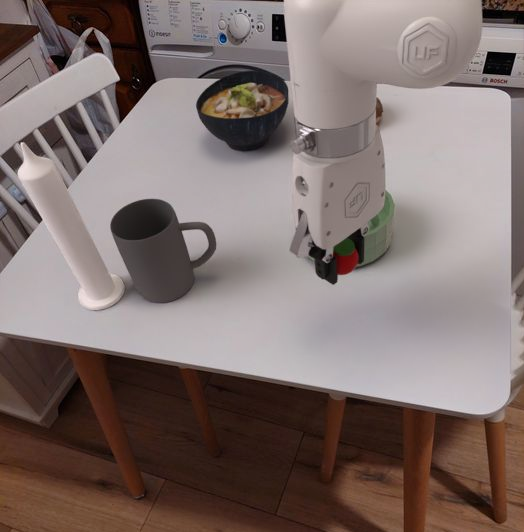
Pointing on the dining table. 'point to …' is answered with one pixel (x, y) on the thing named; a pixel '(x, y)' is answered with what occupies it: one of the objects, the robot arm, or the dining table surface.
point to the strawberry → (345, 256)
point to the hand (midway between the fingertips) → (339, 267)
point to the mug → (157, 248)
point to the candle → (69, 231)
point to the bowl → (244, 108)
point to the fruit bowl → (378, 232)
